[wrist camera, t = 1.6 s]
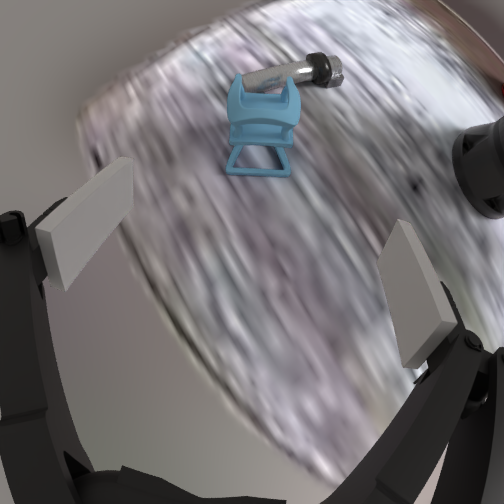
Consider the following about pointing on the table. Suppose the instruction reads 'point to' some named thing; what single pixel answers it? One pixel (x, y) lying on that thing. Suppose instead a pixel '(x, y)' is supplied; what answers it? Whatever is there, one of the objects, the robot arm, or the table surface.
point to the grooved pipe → (296, 73)
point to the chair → (262, 124)
